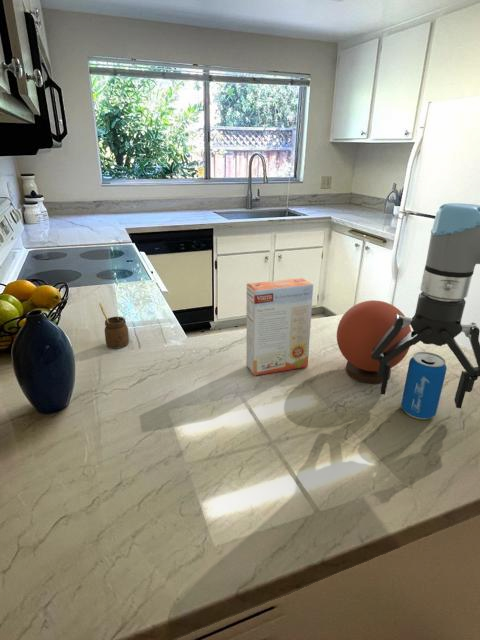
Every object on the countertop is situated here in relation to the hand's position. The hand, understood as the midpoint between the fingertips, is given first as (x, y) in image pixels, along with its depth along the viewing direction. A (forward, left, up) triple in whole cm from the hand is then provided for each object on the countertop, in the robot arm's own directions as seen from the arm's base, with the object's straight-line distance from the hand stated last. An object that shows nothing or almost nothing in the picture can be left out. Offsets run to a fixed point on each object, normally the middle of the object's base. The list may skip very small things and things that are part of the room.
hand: (419, 397), depth 79 cm
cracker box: (+31, -9, -4) cm, 32 cm away
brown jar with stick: (+74, -7, -4) cm, 74 cm away
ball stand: (+10, -13, -3) cm, 17 cm away
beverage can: (0, 0, -4) cm, 4 cm away
